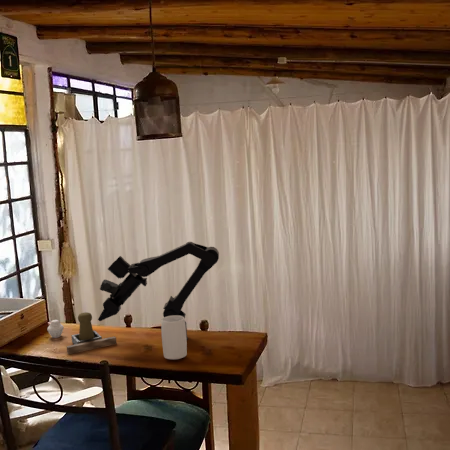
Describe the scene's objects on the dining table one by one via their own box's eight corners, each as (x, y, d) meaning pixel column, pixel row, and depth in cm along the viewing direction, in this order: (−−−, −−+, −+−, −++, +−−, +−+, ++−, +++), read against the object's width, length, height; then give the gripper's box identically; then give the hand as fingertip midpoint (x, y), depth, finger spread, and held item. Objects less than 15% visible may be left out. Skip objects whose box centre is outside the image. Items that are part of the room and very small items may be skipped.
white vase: (62, 338, 217) (60, 321, 216) (46, 339, 217) (44, 322, 216) (66, 333, 223) (64, 316, 222) (50, 334, 223) (49, 317, 222)
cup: (174, 352, 197) (171, 313, 195) (192, 356, 192) (190, 316, 190) (158, 360, 190) (155, 320, 188) (176, 364, 185) (174, 323, 183)
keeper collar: (95, 336, 218) (95, 330, 217) (102, 343, 210) (101, 336, 209) (72, 341, 213) (71, 335, 213) (77, 348, 205) (77, 341, 205)
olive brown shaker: (84, 345, 207) (82, 316, 206) (75, 341, 211) (73, 313, 210) (98, 340, 211) (95, 312, 210) (89, 337, 215) (86, 309, 214)
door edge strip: (115, 342, 210) (114, 336, 210) (116, 343, 208) (116, 337, 208) (67, 352, 201) (66, 346, 201) (68, 354, 200) (67, 347, 199)
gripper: (116, 267, 217) (91, 296, 219) (106, 278, 198) (78, 310, 200) (138, 285, 218) (112, 314, 220) (130, 298, 200) (102, 329, 201)
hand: (101, 316), depth 210 cm, fingers open, 9 cm apart
